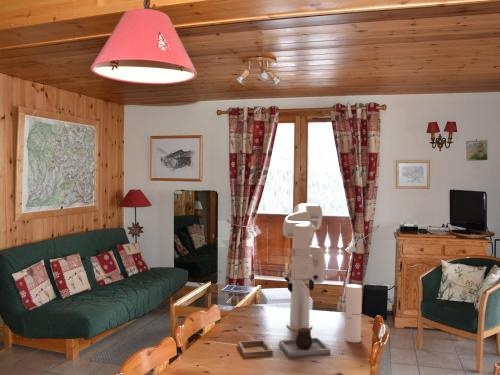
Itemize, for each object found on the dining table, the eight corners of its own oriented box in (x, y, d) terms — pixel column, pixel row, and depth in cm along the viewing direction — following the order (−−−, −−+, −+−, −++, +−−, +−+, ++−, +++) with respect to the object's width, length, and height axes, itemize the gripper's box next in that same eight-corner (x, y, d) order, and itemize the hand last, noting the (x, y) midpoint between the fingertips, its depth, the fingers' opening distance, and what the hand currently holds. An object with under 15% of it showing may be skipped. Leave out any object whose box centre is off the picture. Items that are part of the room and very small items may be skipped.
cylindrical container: (361, 343, 204) (362, 288, 204) (344, 341, 206) (346, 287, 205) (360, 337, 211) (361, 284, 211) (344, 336, 213) (345, 283, 212)
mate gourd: (302, 343, 200) (303, 321, 199) (316, 348, 194) (316, 325, 194) (291, 347, 194) (292, 324, 194) (305, 352, 189) (306, 329, 189)
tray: (279, 346, 199) (279, 340, 199) (317, 343, 203) (317, 337, 203) (289, 358, 185) (289, 352, 185) (330, 355, 190) (330, 349, 189)
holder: (237, 346, 198) (237, 341, 198) (263, 344, 201) (264, 339, 201) (244, 357, 185) (244, 352, 185) (272, 355, 188) (272, 350, 188)
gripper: (285, 255, 192) (285, 294, 193) (323, 253, 196) (322, 291, 198) (280, 251, 199) (279, 289, 200) (316, 249, 204) (315, 287, 205)
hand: (300, 290), depth 199 cm, fingers open, 9 cm apart
